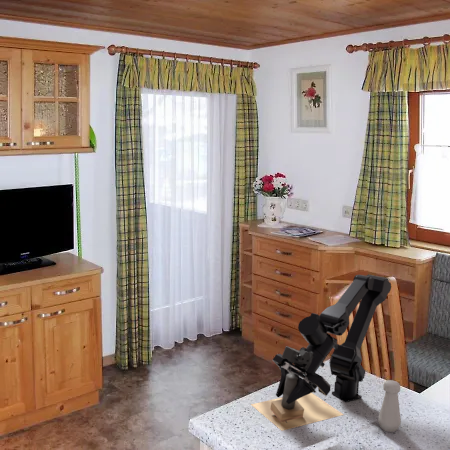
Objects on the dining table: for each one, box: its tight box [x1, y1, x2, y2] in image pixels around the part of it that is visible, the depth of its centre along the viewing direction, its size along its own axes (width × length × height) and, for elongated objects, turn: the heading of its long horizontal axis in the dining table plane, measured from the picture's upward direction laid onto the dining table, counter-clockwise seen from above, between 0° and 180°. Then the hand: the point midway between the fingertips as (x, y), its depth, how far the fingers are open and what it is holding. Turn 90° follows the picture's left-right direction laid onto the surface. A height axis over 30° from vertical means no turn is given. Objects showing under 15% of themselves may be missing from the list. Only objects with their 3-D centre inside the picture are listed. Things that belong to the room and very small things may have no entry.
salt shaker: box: [378, 379, 402, 433], centre depth 153 cm, size 6×6×13 cm
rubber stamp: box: [270, 373, 304, 422], centre depth 156 cm, size 7×6×12 cm
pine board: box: [250, 392, 345, 432], centre depth 161 cm, size 20×16×2 cm
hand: (282, 399), depth 154 cm, fingers closed on rubber stamp, 4 cm apart
